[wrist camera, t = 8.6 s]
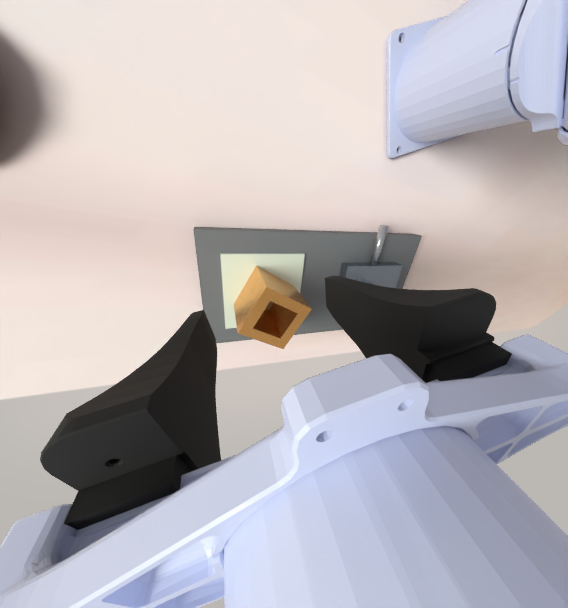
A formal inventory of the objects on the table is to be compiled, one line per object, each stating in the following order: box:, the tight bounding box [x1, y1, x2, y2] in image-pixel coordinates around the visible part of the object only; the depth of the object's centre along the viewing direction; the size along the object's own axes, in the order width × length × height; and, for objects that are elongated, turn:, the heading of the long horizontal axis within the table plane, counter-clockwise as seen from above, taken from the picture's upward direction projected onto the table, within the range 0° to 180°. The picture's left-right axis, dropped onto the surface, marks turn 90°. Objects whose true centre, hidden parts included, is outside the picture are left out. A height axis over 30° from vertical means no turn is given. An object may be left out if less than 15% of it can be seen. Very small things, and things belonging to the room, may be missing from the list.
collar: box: [234, 266, 312, 349], centre depth 20 cm, size 5×5×5 cm
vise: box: [339, 225, 403, 288], centre depth 22 cm, size 7×10×4 cm
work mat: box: [194, 227, 421, 343], centre depth 24 cm, size 24×12×2 cm, turn 86°
